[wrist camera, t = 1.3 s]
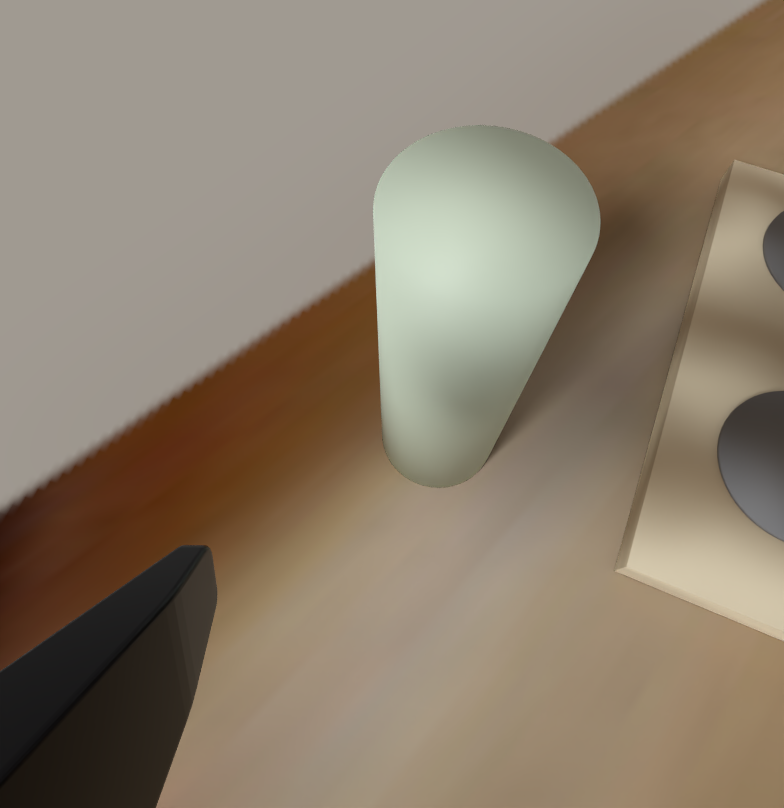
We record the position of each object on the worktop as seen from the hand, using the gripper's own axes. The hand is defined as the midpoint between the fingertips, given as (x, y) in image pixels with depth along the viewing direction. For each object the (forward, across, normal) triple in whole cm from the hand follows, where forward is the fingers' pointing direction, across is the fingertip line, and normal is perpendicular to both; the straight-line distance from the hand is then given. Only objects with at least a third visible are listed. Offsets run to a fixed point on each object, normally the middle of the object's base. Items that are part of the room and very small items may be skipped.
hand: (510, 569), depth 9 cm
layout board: (+15, -15, +3) cm, 22 cm away
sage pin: (+14, 0, +4) cm, 15 cm away
